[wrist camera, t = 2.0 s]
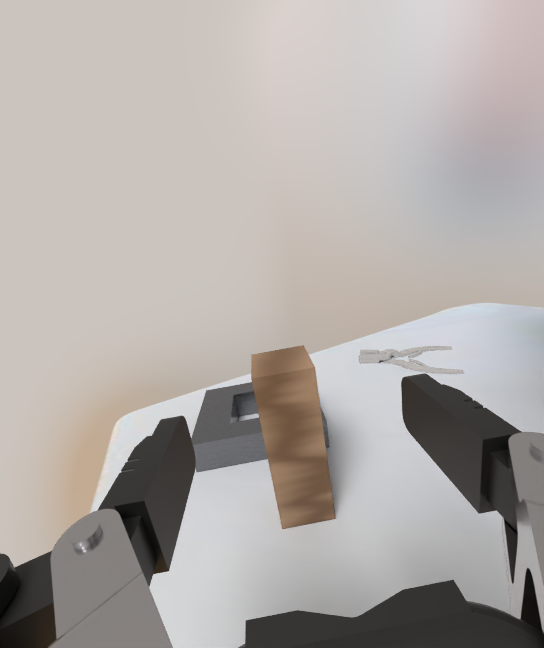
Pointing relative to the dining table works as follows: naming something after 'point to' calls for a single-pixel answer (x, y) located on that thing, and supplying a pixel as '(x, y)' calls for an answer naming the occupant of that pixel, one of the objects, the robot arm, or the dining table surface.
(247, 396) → the socket block
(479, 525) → the dining table surface
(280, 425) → the walnut peg
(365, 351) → the pliers
